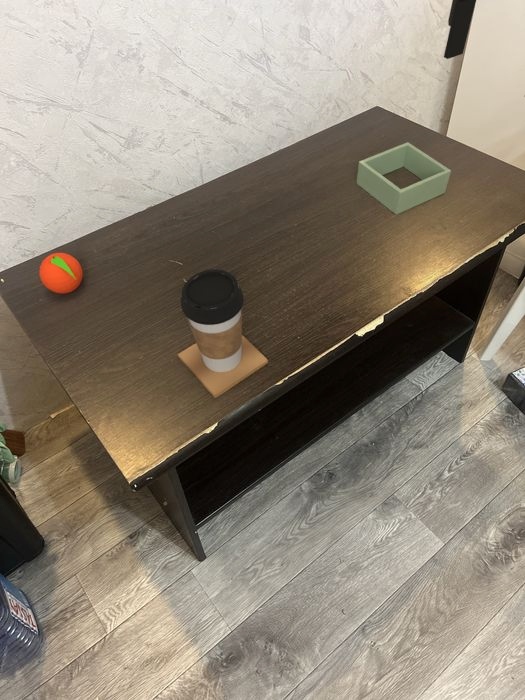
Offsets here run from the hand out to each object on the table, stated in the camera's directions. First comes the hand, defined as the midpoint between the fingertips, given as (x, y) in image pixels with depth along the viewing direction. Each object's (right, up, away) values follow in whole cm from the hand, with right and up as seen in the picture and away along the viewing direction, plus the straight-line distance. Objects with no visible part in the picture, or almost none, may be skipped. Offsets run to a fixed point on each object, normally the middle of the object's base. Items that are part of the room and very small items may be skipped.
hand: (491, 74), depth 64 cm
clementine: (-63, -24, +25) cm, 72 cm away
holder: (-1, -2, +39) cm, 39 cm away
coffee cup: (-35, -36, +13) cm, 52 cm away
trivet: (-35, -37, +14) cm, 53 cm away
